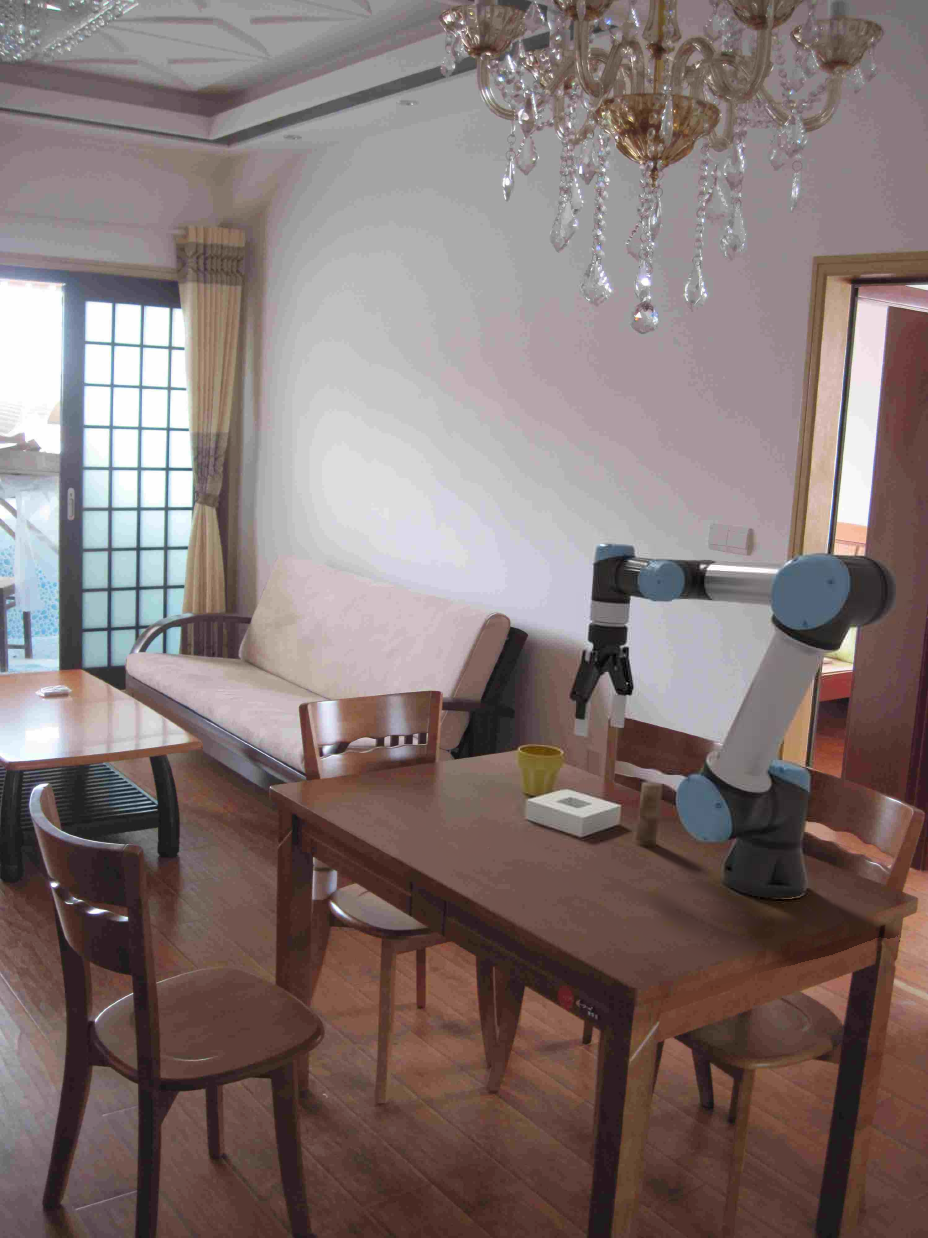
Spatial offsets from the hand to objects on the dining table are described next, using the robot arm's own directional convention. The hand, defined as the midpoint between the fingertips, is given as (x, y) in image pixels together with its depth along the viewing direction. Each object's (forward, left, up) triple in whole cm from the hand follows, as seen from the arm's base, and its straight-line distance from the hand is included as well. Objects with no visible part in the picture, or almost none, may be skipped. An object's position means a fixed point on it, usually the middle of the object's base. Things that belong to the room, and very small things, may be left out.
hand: (599, 731), depth 225 cm
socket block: (+8, -6, -22) cm, 24 cm away
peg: (-9, -7, -22) cm, 24 cm away
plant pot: (+25, -16, -22) cm, 37 cm away
